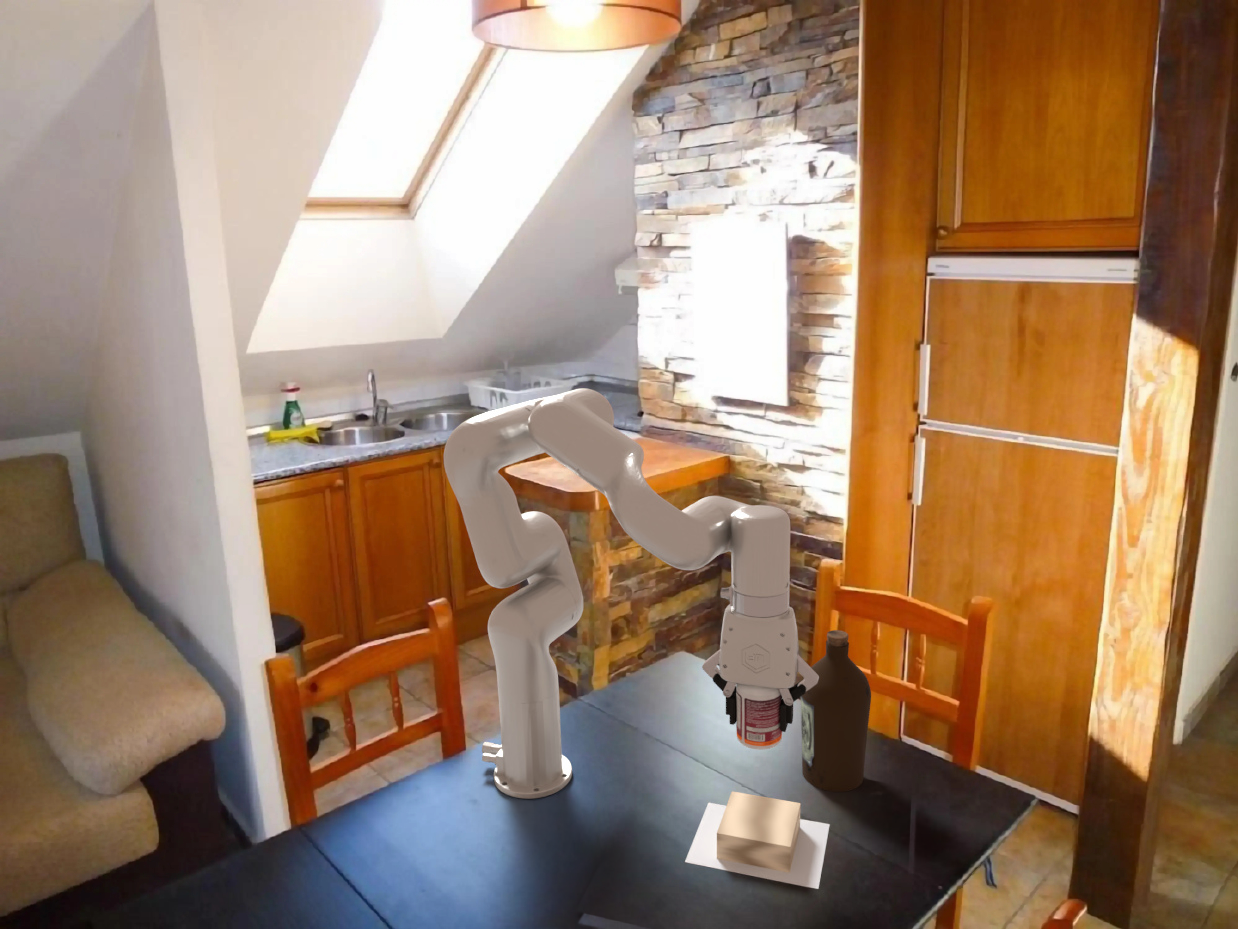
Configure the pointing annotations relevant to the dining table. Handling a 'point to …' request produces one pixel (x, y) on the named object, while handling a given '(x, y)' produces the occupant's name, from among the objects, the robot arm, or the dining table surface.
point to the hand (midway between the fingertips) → (759, 722)
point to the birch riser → (759, 831)
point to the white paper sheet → (801, 873)
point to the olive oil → (835, 720)
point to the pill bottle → (758, 716)
